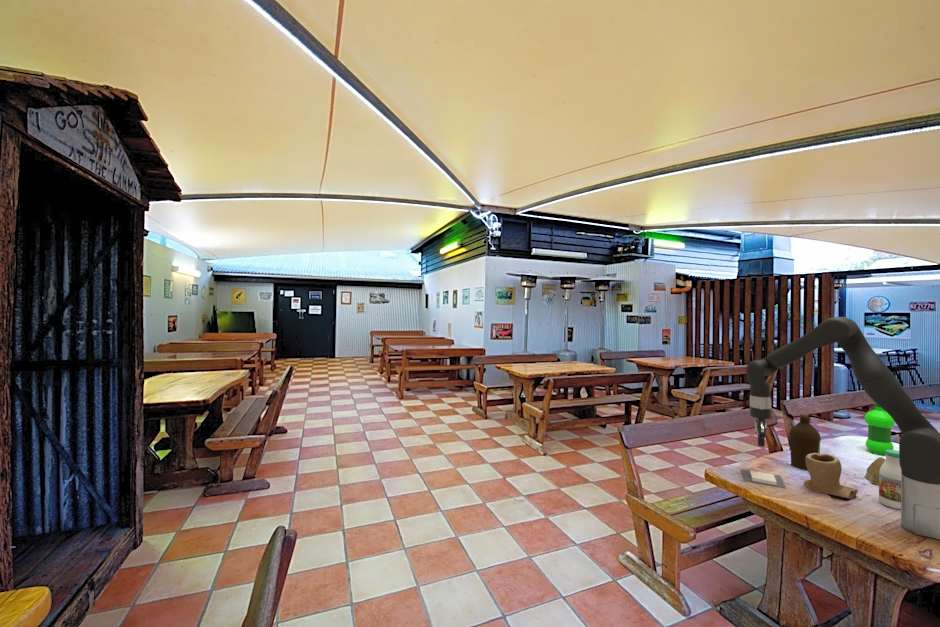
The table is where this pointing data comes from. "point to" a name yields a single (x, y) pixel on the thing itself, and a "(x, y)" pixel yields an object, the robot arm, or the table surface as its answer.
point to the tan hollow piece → (826, 475)
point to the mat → (747, 478)
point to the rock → (874, 471)
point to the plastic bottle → (879, 430)
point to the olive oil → (803, 441)
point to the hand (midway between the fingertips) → (761, 445)
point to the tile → (763, 478)
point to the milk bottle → (890, 480)
